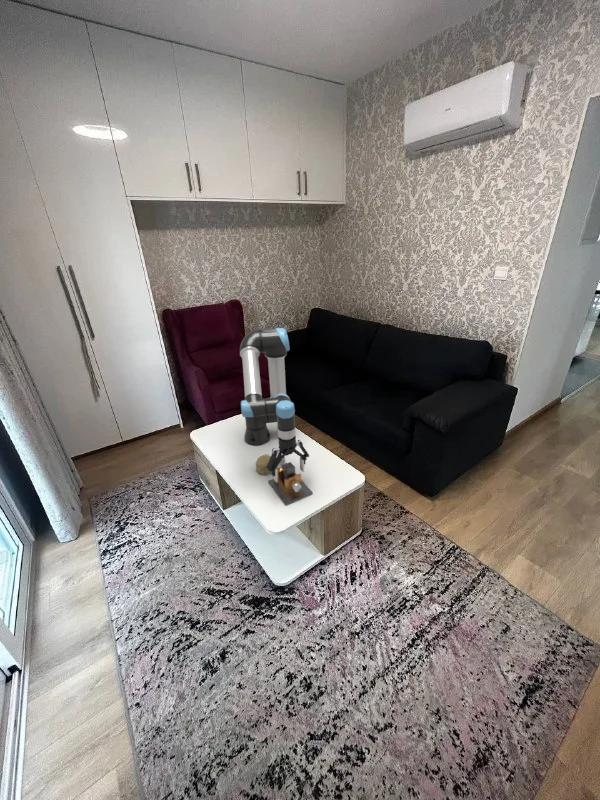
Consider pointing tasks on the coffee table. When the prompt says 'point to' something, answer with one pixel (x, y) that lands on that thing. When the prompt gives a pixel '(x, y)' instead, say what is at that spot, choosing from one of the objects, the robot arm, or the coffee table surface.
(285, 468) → the dark gray rectangular block
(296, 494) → the multicoloured piece
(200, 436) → the coffee table surface
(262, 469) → the decorative object
